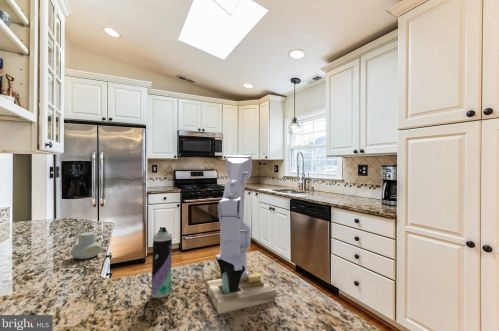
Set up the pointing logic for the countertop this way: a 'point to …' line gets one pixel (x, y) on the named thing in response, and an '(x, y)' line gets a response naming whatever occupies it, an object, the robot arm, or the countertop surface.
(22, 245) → the countertop surface
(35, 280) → the countertop surface
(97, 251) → the air freshener
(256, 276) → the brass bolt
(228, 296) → the dock plate
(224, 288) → the teal peg
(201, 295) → the countertop surface
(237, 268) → the robot arm
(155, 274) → the spray can
